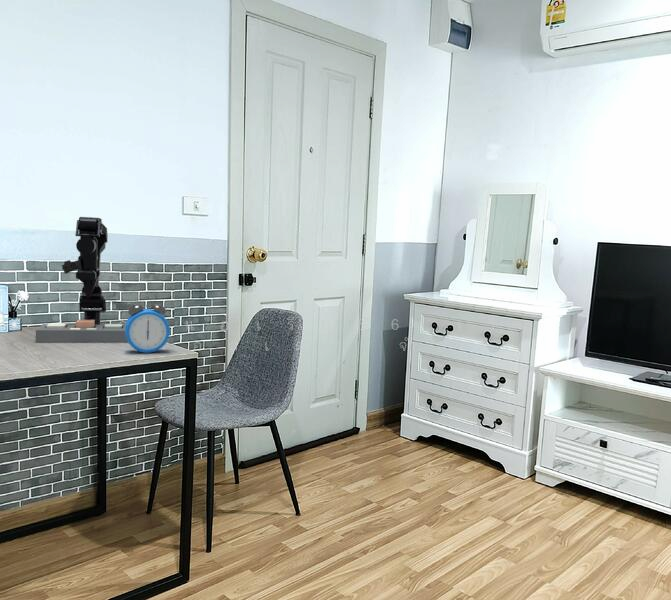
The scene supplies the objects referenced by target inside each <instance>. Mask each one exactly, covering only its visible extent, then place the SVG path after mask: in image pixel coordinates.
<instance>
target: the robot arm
mask: <svg viewBox="0 0 671 600" xmlns="http://www.w3.org/2000/svg"><path fill="white" fill-rule="evenodd" d="M75 227H76V228H75V237H80V238H79V239H78V240H77V242H76V244H75V246H76V250H77V251H78V253H79V256H78V257H77V260H75V261H71V260H70V259H69V260H65V261H64V262H63V264H62V265H61V267H62V268H61V269H62V270H63V272H64V274H68V273H71V272H74V271H76V270H77V271H76V272H75V279H77V280H79V281H80V282H81V283H82V284H83V287H82V289H81V295H79V299H78V301H79V302H78V304H79V313H82V312H83V320H95V325H101V313H106V312H107V301H106V299H105V296H104V295H103V291H102V287H100V276H101V256H102V255H101V254H102V252H104V250H106V244H108V238H109V236H108V228H107V227H106V225H105V224H104V223H103V219H102V218H100V217H92V216H91V217H90V216H79V217H78V219H76V226H75Z"/></svg>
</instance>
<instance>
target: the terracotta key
mask: <svg viewBox="0 0 671 600" xmlns="http://www.w3.org/2000/svg"><path fill="white" fill-rule="evenodd" d="M75 324H76V328H95V320H84V319H77V320H76V321H75Z"/></svg>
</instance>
